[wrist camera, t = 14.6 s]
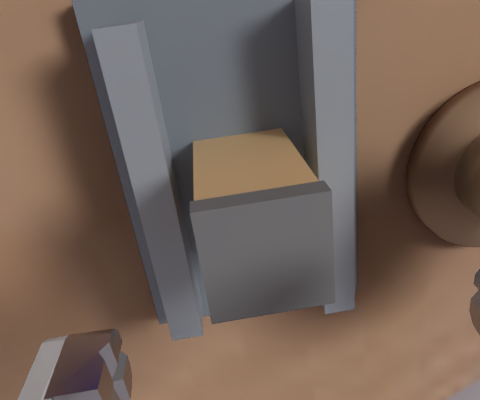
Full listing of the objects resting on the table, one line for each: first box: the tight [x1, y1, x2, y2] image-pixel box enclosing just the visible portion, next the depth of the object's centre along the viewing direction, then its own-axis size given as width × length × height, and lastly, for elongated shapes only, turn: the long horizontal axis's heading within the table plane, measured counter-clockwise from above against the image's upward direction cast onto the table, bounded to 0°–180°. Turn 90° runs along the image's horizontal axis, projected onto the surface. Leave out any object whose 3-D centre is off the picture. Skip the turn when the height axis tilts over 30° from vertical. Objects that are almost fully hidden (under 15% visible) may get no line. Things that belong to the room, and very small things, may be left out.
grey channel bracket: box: [72, 0, 357, 341], centre depth 19 cm, size 16×11×4 cm
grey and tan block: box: [190, 128, 335, 324], centre depth 16 cm, size 4×4×7 cm
